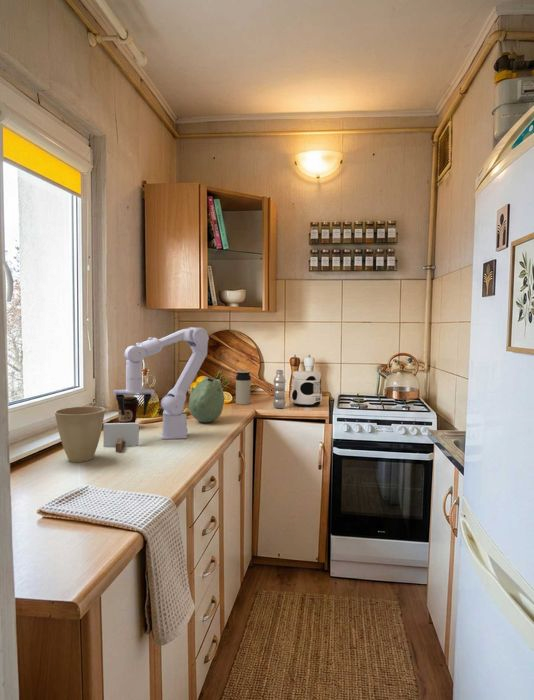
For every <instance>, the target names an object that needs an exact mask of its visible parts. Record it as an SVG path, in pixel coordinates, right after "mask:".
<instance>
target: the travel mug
mask: <svg viewBox="0 0 534 700" xmlns="http://www.w3.org/2000/svg"><path fill="white" fill-rule="evenodd" d="M250 373H251V371H250V370H246V369H245V370H243V369H242V370H240V369H239V370H236V376H235V404H237V405H239V404H242V405H243V406H245V404H247V405H249V404H251V379H252V378H251V375H250Z"/></svg>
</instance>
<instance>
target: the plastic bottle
mask: <svg viewBox="0 0 534 700" xmlns="http://www.w3.org/2000/svg"><path fill="white" fill-rule="evenodd" d="M275 372H276V373H275V374H276V375H275V376H274V379H273V389H274V394H273V402H272V405H273V407H274V408H275V409H283V408H285V406H286V399H285V390H286V389H285V388H286V381H287V380H286V377H285V376H284V370H283V369H276V371H275Z"/></svg>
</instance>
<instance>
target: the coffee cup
mask: <svg viewBox="0 0 534 700" xmlns="http://www.w3.org/2000/svg"><path fill="white" fill-rule="evenodd" d="M139 402H140V401H139V400H138V397H137V396H124V415H122V412H121V408H120V405H119V403H118V402H117V406H118V421H119V423H136V420H137V419H138V411H139V409H138V406H139V404H140V403H139Z"/></svg>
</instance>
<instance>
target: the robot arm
mask: <svg viewBox="0 0 534 700" xmlns="http://www.w3.org/2000/svg"><path fill="white" fill-rule="evenodd" d="M209 340H210V337H209V335H208V332H207V330H206V329H205V328H203V327H194V326H190V327H187V328H183V329H180V330H178V331H175V332H173V333H171V334H168V335H167V336H163V337H161V338H157V337H152V336H151V337H150V336H149V337H148V338H147V340H145V341H142V342H136V343H135V345H129V346H127V348H125V351H124V353H123V356H124V359H126V360H125V362H126V363H125V389H114V390H112V391H113V393H112V396H114V397H115V399H116V401H117V404H118V403H119V405H120V408H121V412H122V415H124V397H125V396H143V414H142V415H143V416H146V413H147V409H148V408H147V407H148V405H149V403H150V400H151V398H152V396H154V395H155V389H146V388H145V389H144V388H143V362H142V361H143V360H144V358H145V359H146V358H148V357H151V356H153V355H155V354H158V353H160V352H162V349H163V348H164V347H166V346H169V345H173V344H175V343H177V342H180V341H184V342H186V343H188V345H189V346H190V349H191V351H192V353H191V356H190V357H189V359H188V361H187V363H186V364H185V366H184V368H183V370H182V372H181V374H180V375H179V377H178V379H177V381H176V383H175V384H174V387H173V388H171V389H170V390H169V391H168V392H167V394H166V395H164V397H162V399H161V401H160V406H161V409H162V410H163V412H162V433H161V437H160V438H161V440H170V439H171V440H172V439H173V440H174V439H187V438H188V435H187V434H188V433H189V431H188V418H187V417H188V416H187V415H188V414H187V413H182V412H183V411H184V409H185V403H186V401H187V393H188V391H189V389H190V387H191V385H192V383H193V381H194V380H195V377H197V374H198V371H199V370H200V368H201V366H202V364H203V363H204V361H205V359H206V357H207V355H208V346H209V345H208V344H209Z"/></svg>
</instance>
